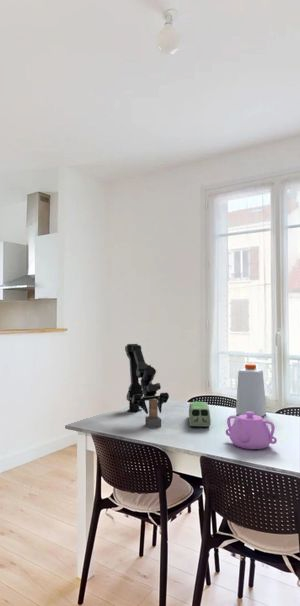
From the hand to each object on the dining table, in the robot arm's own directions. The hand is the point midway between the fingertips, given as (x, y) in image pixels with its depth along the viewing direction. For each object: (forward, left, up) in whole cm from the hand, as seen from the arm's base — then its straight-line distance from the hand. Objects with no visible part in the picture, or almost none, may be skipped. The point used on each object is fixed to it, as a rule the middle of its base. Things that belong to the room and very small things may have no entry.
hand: (154, 412), depth 187 cm
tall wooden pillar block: (-1, -1, -7) cm, 7 cm away
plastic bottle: (-49, +36, -7) cm, 61 cm away
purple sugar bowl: (+8, +49, -7) cm, 50 cm away
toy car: (-18, +17, -7) cm, 26 cm away
